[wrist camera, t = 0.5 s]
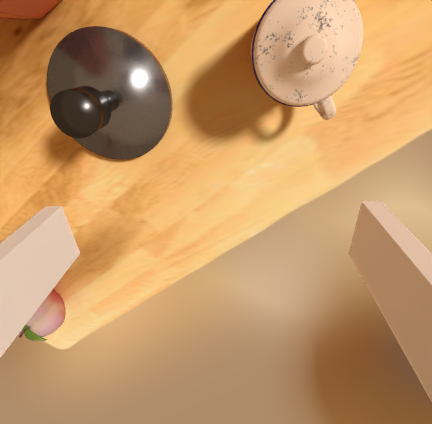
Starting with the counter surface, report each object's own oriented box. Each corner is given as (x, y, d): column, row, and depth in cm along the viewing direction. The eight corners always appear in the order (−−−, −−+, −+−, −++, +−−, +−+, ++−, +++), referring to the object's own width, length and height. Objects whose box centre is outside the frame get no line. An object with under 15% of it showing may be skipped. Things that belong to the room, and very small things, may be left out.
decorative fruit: (20, 281, 53) (-21, 326, 44) (51, 269, 51) (14, 314, 42) (54, 311, 57) (22, 357, 49) (84, 301, 55) (55, 348, 46)
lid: (51, 8, 30) (-23, -9, 21) (184, 51, 31) (164, 52, 23) (56, 138, 37) (3, 164, 29) (161, 168, 39) (140, 202, 30)
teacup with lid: (232, 37, 30) (230, 31, 20) (310, -25, 27) (353, -69, 17) (283, 128, 35) (302, 161, 25) (354, 85, 32) (408, 102, 22)
